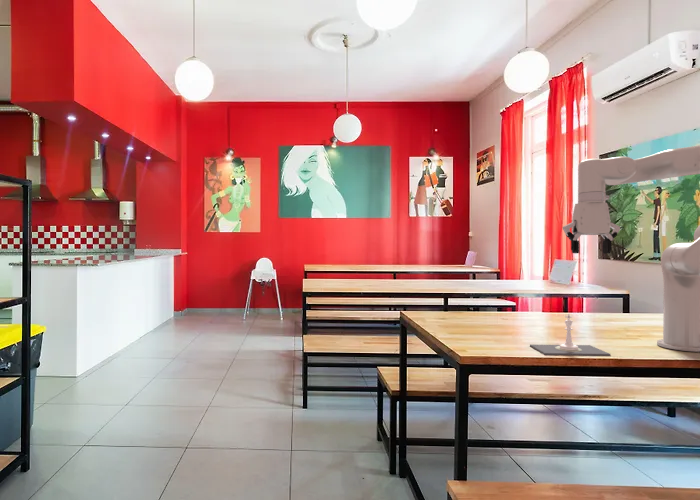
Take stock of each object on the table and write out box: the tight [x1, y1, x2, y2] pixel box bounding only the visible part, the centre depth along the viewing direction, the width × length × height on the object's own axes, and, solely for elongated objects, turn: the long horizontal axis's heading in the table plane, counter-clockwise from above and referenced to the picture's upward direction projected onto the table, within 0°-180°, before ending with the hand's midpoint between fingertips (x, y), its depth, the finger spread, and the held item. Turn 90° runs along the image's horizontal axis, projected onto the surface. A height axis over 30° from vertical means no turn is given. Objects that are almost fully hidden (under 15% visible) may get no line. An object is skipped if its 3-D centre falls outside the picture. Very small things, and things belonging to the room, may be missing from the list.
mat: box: [529, 343, 611, 357], centre depth 127 cm, size 18×11×1 cm, turn 88°
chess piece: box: [559, 313, 578, 350], centre depth 127 cm, size 5×5×10 cm
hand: (591, 253), depth 137 cm, fingers open, 9 cm apart
